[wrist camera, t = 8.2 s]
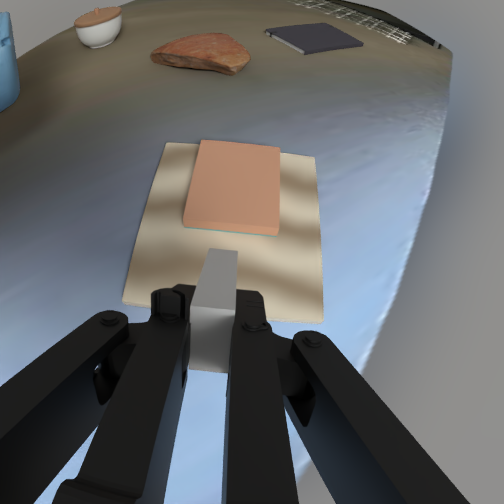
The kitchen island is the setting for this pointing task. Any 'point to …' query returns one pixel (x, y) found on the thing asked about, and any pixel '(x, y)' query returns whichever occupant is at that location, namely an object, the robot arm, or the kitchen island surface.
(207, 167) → the tile
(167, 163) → the board
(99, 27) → the lidded jar
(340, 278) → the kitchen island surface
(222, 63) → the ceramic shard
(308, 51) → the notebook
